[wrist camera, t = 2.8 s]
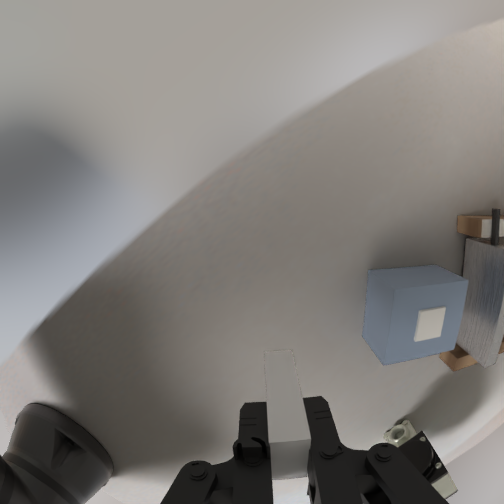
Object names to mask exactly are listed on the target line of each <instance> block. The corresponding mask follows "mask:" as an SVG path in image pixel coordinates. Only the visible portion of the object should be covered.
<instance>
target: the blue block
mask: <svg viewBox="0 0 504 504" xmlns="http://www.w3.org/2000/svg"><path fill="white" fill-rule="evenodd" d="M467 287H468V280H467V279H465V278H463V277H461V276H459V275H457V274H455V273H453V272H450V271H448V270H446V269H444V268H442V267H440V266H438V265H427V266H414V267H401V268H388V269H374V270H368V281H367V295H366V306H365V316H364V326H363V334H362V337H363V338H364V339H365V341H366V342H367V343H368V345H369V346H370V348H371V349H372V350H373V352H374V353H375V355H376V356H377V357H378V359H379V360H380V362H381V363H382V364H383V365H389V364H394V363H399V362H404V361H409V360H413V359H418V358H422V357H426V356H430V355H435V354H439V353H442V352H446V351H450V350H454V348H455V344H456V340H457V336H458V332H459V328H460V323H461V319H462V314H463V309H464V304H465V299H466V293H467Z"/></svg>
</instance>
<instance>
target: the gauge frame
mask: <svg viewBox="0 0 504 504" xmlns="http://www.w3.org/2000/svg"><path fill="white" fill-rule="evenodd" d="M491 230H492V215H479V216H458V223H457V232H458V233H462V234H466V235H470V236H473V237H477V238H480V237H481V238H488V237H491ZM502 236H504V215H500V227H499V237H502ZM503 352H504V335H503V339H502V342H501V346H500V349H499V352H498V354H500V353H503ZM439 358H440V359H441V360H442V361H443V362H444V363H445V364H446V365H447V366H448V367H449V368H450V369H451V370H452V371H453V372H454V371H457V370H460V369H463V368H465V367H468V366H471V365H473V364H476V363H478V362H477V361H476V360H475V359H474V358H473V357H471V356H470V355H469V354H468V353H467V352H466V351H464V350H463V349H462V348H461V347H460V346H459V345H457V344H455V348H454V350H450V351H446V352H442V353H440V356H439Z"/></svg>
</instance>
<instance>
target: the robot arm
mask: <svg viewBox="0 0 504 504" xmlns="http://www.w3.org/2000/svg"><path fill="white" fill-rule="evenodd" d="M264 361H265V380H266V398H267V402H251V403H245V404H244V405H243V406H242V408H241V409H240V420H239V435H238V440H236V441H235V442H234V445H233V453H234V457H233V458H232V459H230V460H229V461H227V462H224V463H220V464H216V465H211V464H210V463H208V462H205V461H198V460H197V461H192V462H189V463H187V464H185V465H184V466H183V468H182V469H181V470H180V472H179V474H178V475H177V477H176V479H175V480H174V482H173V484H172V485H171V487H170V489H169V490H168V492H167V494H166V495H165V497H164V499H163V500H162V502H161V503H160V504H273V489H272V480H280V479H292V478H302V477H307V473H308V478H309V484H308V491H307V495H309V496H310V503H311V504H449V503H448V502H447V501H446V500H445V499H444V498H443V497H442V496H441V495H440V494H439V492H438V491H437V490H436V489H435V488H434V487H433V486H432V485H431V484H430V483H429V482H428V481H427V479H426V478H425V477H424V476H423V475H422V474H421V473H420V472H419V471H418V470H417V469H416V467H415V466H414V465H413V464H412V463H411V462H410V461H409V460H408V459H407V457H406V456H405V455H404V454H403V453H402V452H401V451H400V450H399V449H398V448H397V447H396V446H395V445H393V444H390V443H379V444H376V445H374V446H372V447H371V448H370V449H369V451H367V450H353V449H350V448H347V447H346V446H344V445H343V444H342V443H341V441H340V439H339V436H338V433H337V430H336V427H335V424H334V420H333V418H332V414H331V411H330V408H329V405H328V402H327V401H326V400H325V399H324V398H323V397H322V396H317V397H308V398H302V393H301V388H300V384H299V379H298V374H297V370H296V365H295V361H294V356H293V352H292V350H279V351H264ZM112 472H113V463H112V461H111V459H110V457H109V455H108V454H107V452H106V451H105V449H104V448H103V447H102V446H101V445H100V444H99V443H98V442H97V441H96V440H95V439H94V438H93V437H92V436H91V435H90V434H89V433H88V432H87V431H85V430H84V429H83V428H82V427H80V426H79V425H78V424H76V423H75V422H74V421H72V420H71V419H69V418H68V417H66V416H64V415H63V414H61V413H59V412H57V411H56V410H53V409H51V408H49V407H46V406H43V405H40V404H29V405H26V406H25V407H24V408H23V410H22V411H21V412H20V413H19V414H18V416H17V418H16V422H15V428H14V430H13V433H12V436H11V440H10V443H9V446H8V449H7V451H6V452H5V454H4V455H3V456H1V455H0V504H85V503H86V502H87V501H88V500H89V499H90V498H91V497H93V496H94V495H95V493H97V492H98V491H99V490H100V489H101V487H103V486H105V485H106V484H107V482H108V481H109V479H110V476H111V474H112Z"/></svg>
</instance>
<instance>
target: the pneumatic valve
mask: <svg viewBox="0 0 504 504" xmlns="http://www.w3.org/2000/svg"><path fill="white" fill-rule="evenodd" d="M384 438H385V440H386V441H387V442H388V443H390V444H393V445H395V446H396V447H397V448H398V449H399V450H400V451H401V452H402V453H403V454H404V455H405V456H406V457H407V459H408V460H409V461H410V462H411V463H412V464H413V465H414V466H415V467H416V469H417V470H418V471H419V472H420V473H421V474H422V475H423V476H424V477H425V478H426V479H427V481H428V482H429V483H430V484H431V485H432V486H433V487H434V488H435V489H436V490H437V491H438V492H439V494H440V495H441V496H442V497H443V498H444V499H447V498H448V497H450V496H451V495H453V494H454V493H456V492H457V491H458V490H457V488H456V486H455V484H454V482H453V481H452V479H451V477H450V475H449V473H448V471H447V470H446V468H445V466H444V465H443V463H442V461H441V460H440V458H439V457H438V455H437V453H436V452H435V450H434V449H433V447H432V445H431V444H430V442H429V441H428V439H427V437H426V436H425V434H424V433H423V431H421V432H420V433H418V434H417V433H416V431H415V429H414V428H413V426H412V425H411V423H410V422H409V420H404V421H403V422H402V424H399V425H396V426H395V427H393V428H392V429H391V430H390V432H386V433H385V434H384Z"/></svg>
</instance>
